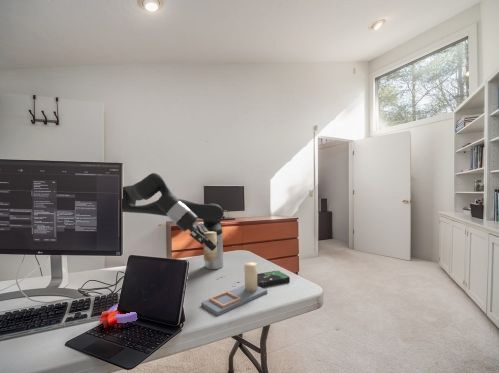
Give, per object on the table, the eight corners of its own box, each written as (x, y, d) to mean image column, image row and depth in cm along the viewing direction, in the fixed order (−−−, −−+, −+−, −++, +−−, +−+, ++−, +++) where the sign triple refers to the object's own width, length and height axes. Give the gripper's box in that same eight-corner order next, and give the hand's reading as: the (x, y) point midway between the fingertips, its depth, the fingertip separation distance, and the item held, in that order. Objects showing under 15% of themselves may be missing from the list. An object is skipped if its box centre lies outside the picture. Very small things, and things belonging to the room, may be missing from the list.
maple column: (201, 259, 96) (200, 232, 96) (212, 256, 100) (211, 230, 99) (208, 262, 93) (207, 234, 92) (219, 259, 96) (219, 232, 96)
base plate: (201, 305, 92) (200, 274, 92) (250, 285, 108) (249, 259, 108) (217, 315, 85) (216, 282, 84) (267, 292, 101) (266, 264, 101)
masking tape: (106, 333, 77) (105, 320, 77) (108, 315, 87) (108, 304, 87) (147, 323, 82) (147, 311, 82) (145, 307, 92) (145, 296, 92)
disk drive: (259, 290, 106) (290, 283, 111) (259, 283, 105) (290, 276, 111) (249, 281, 115) (278, 275, 121) (249, 275, 115) (278, 269, 121)
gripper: (180, 220, 103) (211, 249, 103) (169, 226, 89) (205, 260, 89) (193, 206, 103) (224, 235, 103) (184, 211, 89) (220, 244, 89)
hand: (215, 246), depth 96 cm, fingers closed on maple column, 5 cm apart
